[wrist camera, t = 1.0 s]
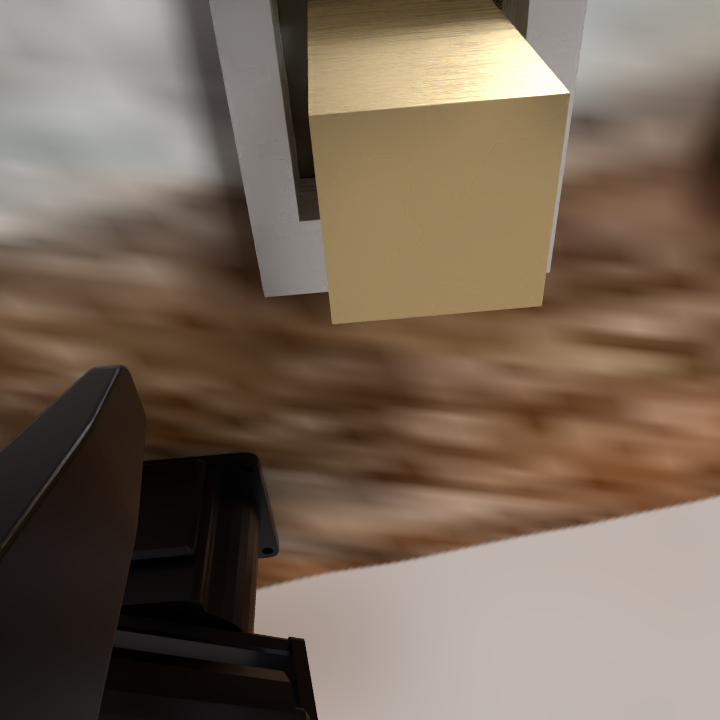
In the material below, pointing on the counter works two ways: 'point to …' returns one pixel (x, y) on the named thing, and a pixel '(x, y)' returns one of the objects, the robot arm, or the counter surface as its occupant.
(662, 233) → the counter surface
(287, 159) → the rail bar
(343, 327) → the counter surface
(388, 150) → the brass peg
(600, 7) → the counter surface
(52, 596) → the robot arm
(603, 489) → the counter surface
